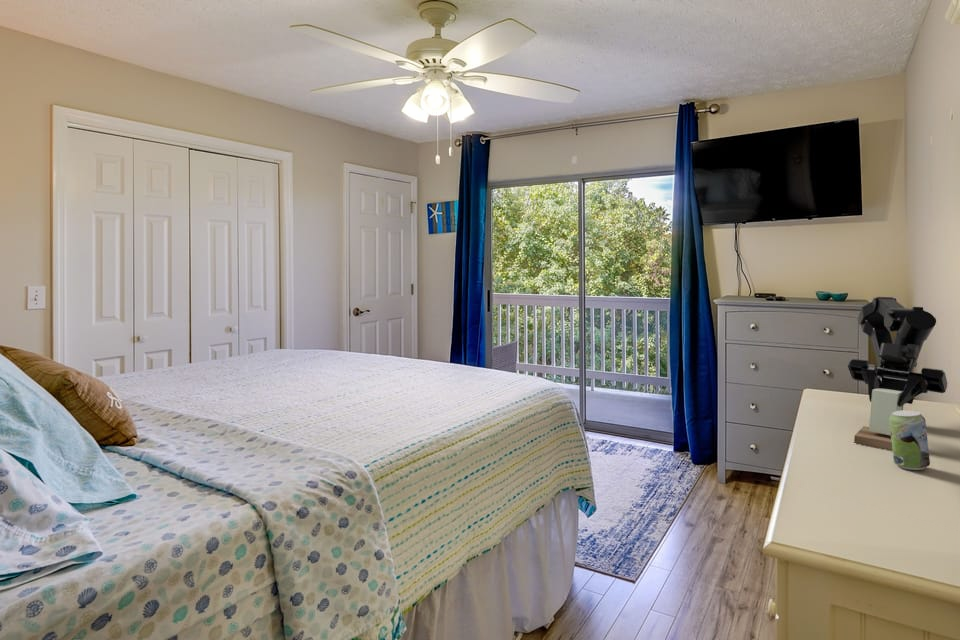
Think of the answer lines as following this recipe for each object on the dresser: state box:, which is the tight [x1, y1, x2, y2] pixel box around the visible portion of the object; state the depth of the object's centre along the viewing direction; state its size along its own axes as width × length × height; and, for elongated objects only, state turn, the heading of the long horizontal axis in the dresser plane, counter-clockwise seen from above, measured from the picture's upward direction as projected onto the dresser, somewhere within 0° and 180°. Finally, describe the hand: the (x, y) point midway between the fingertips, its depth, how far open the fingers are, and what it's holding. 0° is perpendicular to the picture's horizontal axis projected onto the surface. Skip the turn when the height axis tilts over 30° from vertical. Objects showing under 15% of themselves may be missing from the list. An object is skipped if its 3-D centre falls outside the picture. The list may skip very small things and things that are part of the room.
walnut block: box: [853, 425, 893, 452], centre depth 131 cm, size 10×10×2 cm
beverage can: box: [889, 409, 931, 471], centre depth 116 cm, size 6×7×12 cm
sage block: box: [868, 388, 903, 435], centre depth 131 cm, size 4×5×10 cm
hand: (884, 403), depth 130 cm, fingers open, 5 cm apart
